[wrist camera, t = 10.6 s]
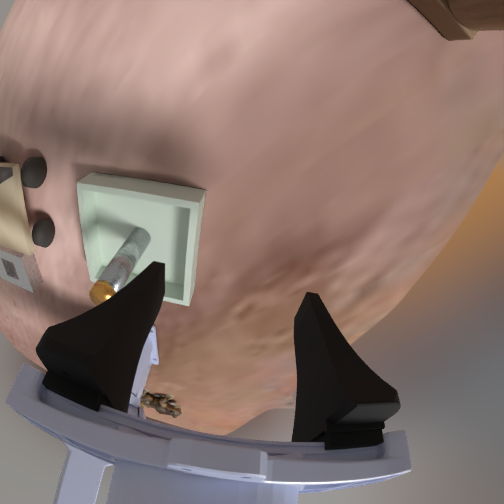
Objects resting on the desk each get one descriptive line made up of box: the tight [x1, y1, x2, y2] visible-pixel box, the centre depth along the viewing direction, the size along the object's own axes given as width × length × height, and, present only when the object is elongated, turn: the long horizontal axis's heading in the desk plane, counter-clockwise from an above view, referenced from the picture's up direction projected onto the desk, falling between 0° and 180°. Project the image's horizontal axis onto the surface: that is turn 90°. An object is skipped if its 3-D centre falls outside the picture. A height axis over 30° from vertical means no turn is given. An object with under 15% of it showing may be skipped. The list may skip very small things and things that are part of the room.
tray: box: [77, 172, 206, 306], centre depth 23 cm, size 11×11×2 cm
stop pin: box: [89, 228, 151, 306], centre depth 20 cm, size 2×2×8 cm
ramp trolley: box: [0, 156, 55, 256], centre depth 19 cm, size 10×9×7 cm
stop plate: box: [0, 245, 43, 293], centre depth 27 cm, size 6×8×2 cm
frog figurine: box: [139, 389, 182, 418], centre depth 45 cm, size 12×12×4 cm
